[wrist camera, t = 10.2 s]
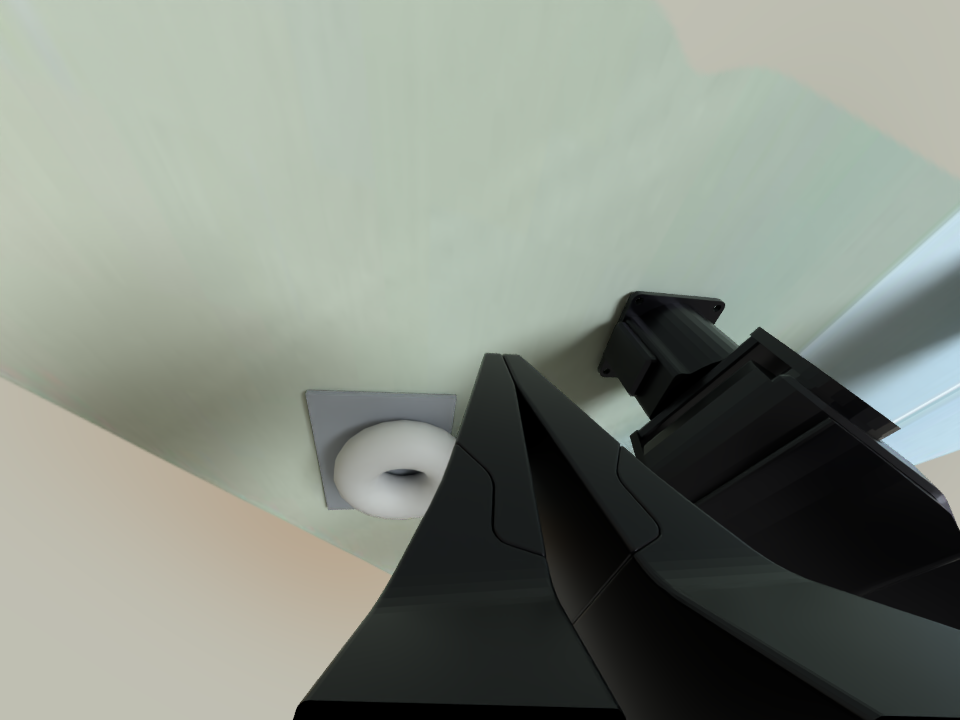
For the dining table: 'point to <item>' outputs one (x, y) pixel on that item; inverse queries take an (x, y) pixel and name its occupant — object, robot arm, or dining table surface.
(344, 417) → the mat
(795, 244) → the dining table surface
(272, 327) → the dining table surface
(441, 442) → the donut
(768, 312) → the dining table surface
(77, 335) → the dining table surface
